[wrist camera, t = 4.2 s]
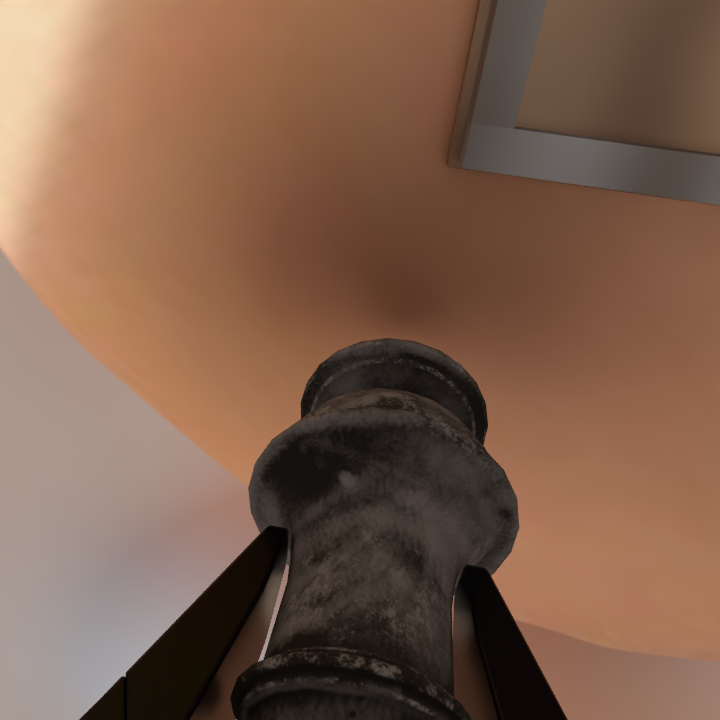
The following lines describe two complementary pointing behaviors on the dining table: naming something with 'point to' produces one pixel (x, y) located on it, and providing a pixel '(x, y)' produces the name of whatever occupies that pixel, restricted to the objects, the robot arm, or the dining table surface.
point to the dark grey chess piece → (376, 536)
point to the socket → (595, 95)
